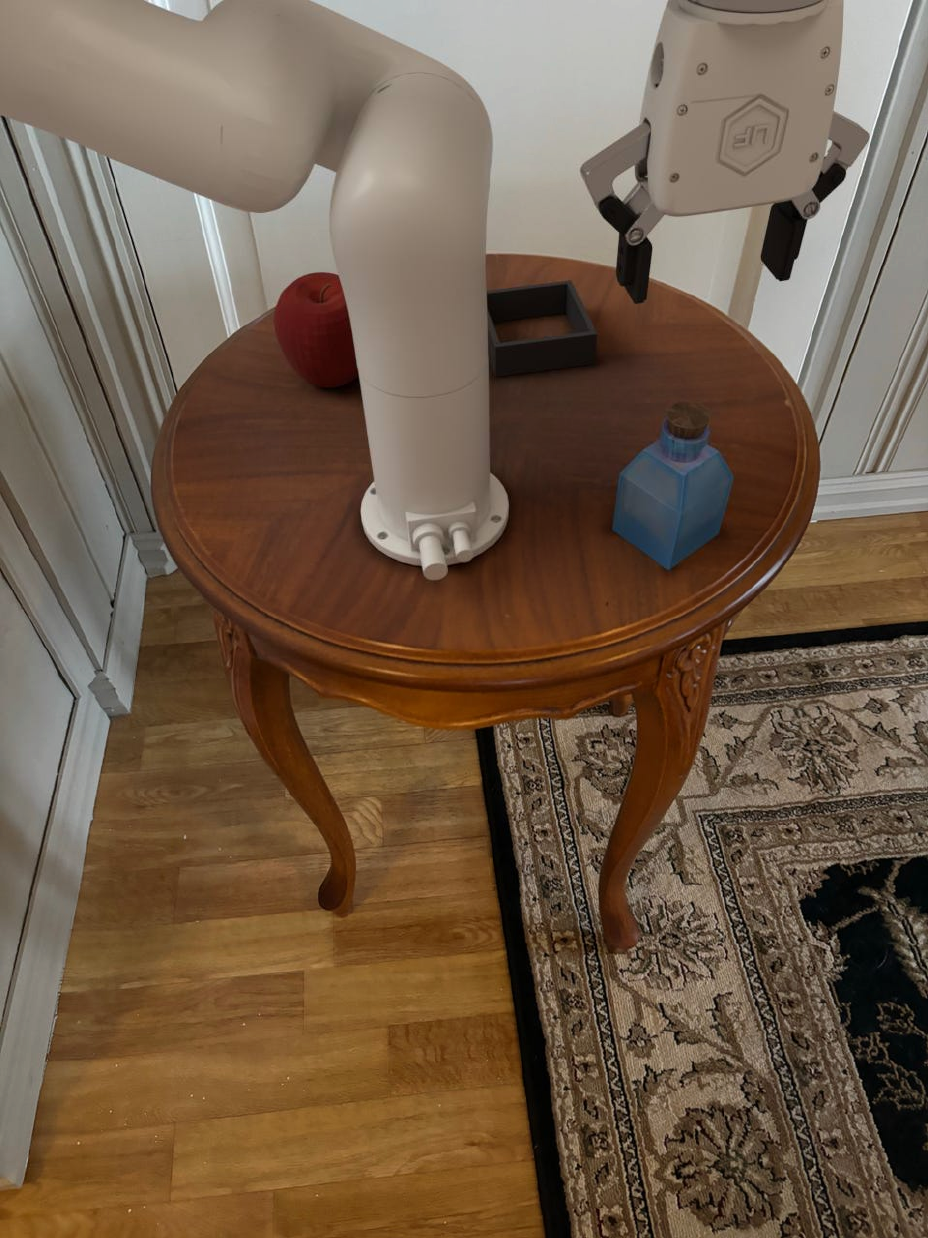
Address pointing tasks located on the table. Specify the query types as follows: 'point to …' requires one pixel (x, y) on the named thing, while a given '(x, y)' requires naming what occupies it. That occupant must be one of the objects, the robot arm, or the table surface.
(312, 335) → the apple
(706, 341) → the table surface
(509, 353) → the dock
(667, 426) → the perfume bottle
